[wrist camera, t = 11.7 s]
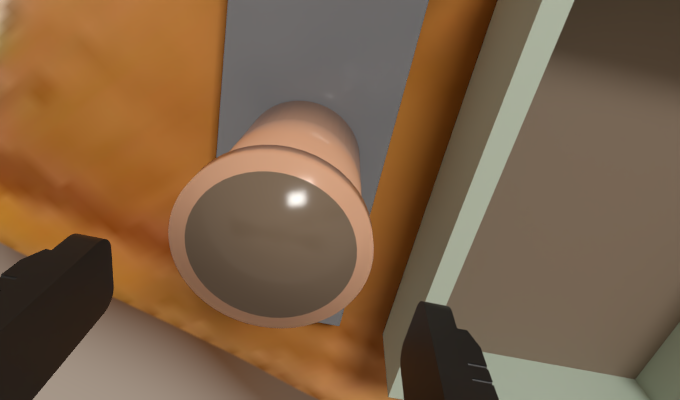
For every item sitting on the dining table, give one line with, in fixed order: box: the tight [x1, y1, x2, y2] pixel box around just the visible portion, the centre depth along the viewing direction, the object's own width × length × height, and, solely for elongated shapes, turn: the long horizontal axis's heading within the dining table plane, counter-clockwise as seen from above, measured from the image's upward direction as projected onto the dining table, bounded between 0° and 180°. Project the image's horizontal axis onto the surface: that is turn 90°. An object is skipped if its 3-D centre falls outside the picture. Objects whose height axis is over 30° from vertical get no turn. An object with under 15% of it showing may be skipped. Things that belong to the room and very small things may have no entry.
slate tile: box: [216, 0, 429, 326], centre depth 20 cm, size 8×20×1 cm, turn 168°
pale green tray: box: [383, 0, 680, 400], centre depth 19 cm, size 17×22×4 cm
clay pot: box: [168, 101, 374, 328], centre depth 16 cm, size 6×6×8 cm
